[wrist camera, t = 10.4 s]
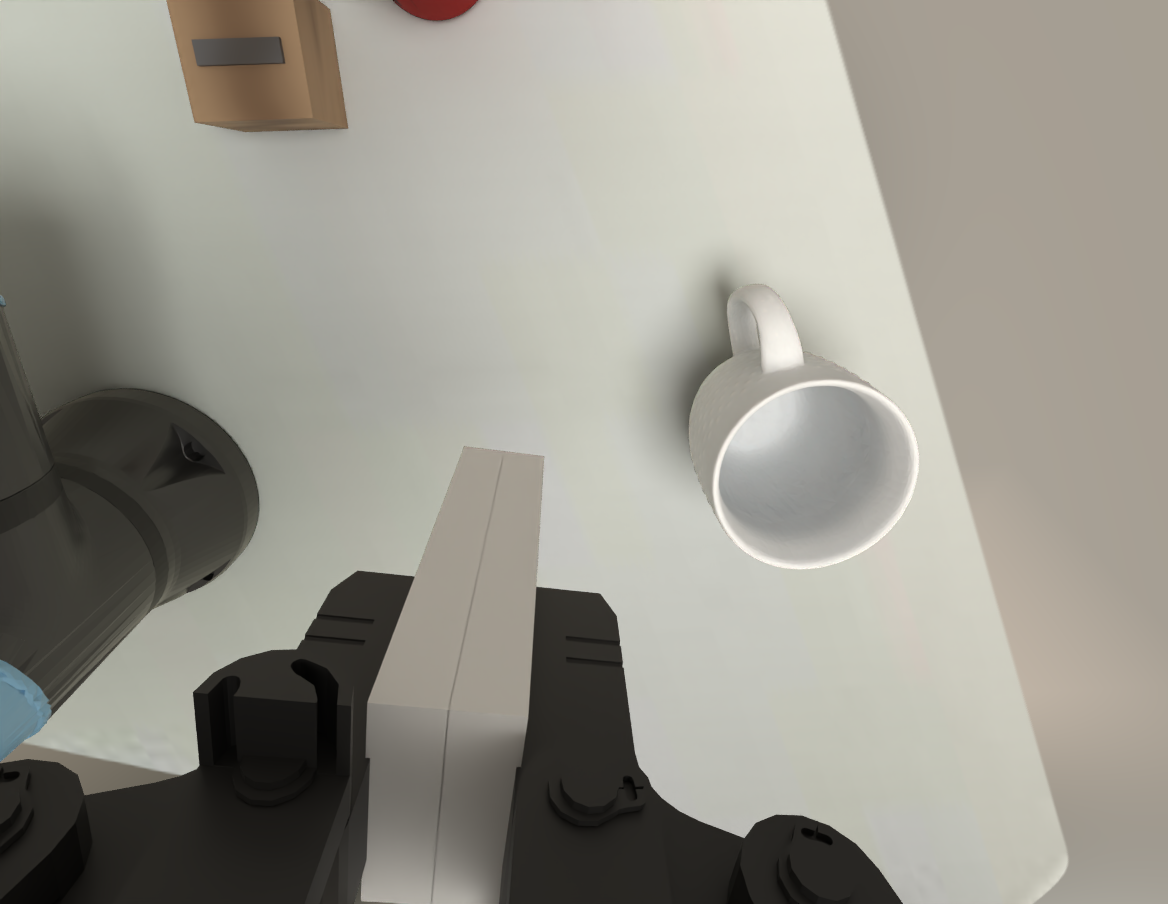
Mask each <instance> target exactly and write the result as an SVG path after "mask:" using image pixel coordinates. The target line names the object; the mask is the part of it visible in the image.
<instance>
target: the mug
mask: <svg viewBox="0 0 1168 904" xmlns="http://www.w3.org/2000/svg"><path fill="white" fill-rule="evenodd" d="M727 319H728V328H729V335H730V340H731V346H732V352H733V357H732V358H730V359H727V360H726V361H725V362H723V363H722V364H721V365H719V366H717V367H716V368H715V369H714V370H713V371H712V372H711V374H709V375H708V376H707V377H706V379H705V380H704V381H703V383H702V385H701V386H700V387H699V390H698V392H697V394H696V397H695V399H694V402H693V405H692V407H691V413H690V416H689V426H688V427H689V435H688V438H689V442H690V446H689V448H690V452H691V459H692V462H693V464H694V469H695V472H696V474H697V475H698V480H699V482H700V484H701V486H702V489H703V492H704V494H705V495H706V497H707V500H708V503H709V504H710V505H711V507H712V509H713V512H714V514H715V515H716V517H717V519H718V521H719V523H720V524H721V526H722V528H723V530H724V531H725V532H726V534H727V535H728V536H729V538H730V539H731V540H732V541H733V542H734V543H735V544H736V545H737V546H738V547H739V548H740V549H741V550H743V551H744V552H745V553H747V554H748V555H750V556H752V557H753V558H755V559H757V560H760V561H762V562H764V563H767V564H770V565H773V566H777V567H782V568H789V569H812V568H820V567H825V566H829V565H832V564H836V563H839V562H842V561H844V560H847V559H849V558H851V557H853V556H855V555H857V554H859V553H861V552H863V551H864V550H866V549H868V548H869V547H871V546H872V545H873V544H875V543H876V542H878V541H879V540H880V539H881V538H882V537H883V536H885V535H886V534H887V533H888V532H889V531H890V529H891V528H892V527H893V526H894V525H895V524H896V522H897V521H898V520H899V518H900V517H901V516H902V514H903V513H904V511H905V509H906V507H907V505H908V504H909V502H910V499H911V497H912V495H913V492H914V489H915V486H916V482H917V477H918V470H919V451H918V445H917V440H916V436H915V434H914V431H913V428H912V426H911V424H910V423H909V421H908V419H907V418H906V416H905V415H904V413H903V412H902V411H901V410H900V408H899V407H898V406H897V405H896V404H895V403H894V402H893V401H891V400H890V399H889V398H888V397H886V396H885V395H884V394H882V393H881V392H880V391H878V390H877V389H875V388H874V387H872V386H871V385H870V383H869V382H866V381H864V380H862V379H860V378H859V377H858V376H857V375H856V374H854V373H850V372H849V371H848V370H846V369H845V368H844V367H840V366H838V365H836V364H835V363H834V362H831V361H827V360H825V359H824V358H822V357H820V356H815V355H812V354H811V353H807V352H802V347H801V343H800V339H799V336H798V333H797V330H796V328H795V325H794V323H793V320H792V318H791V316H790V313H789V311H788V309H787V307H786V305H785V304H784V302H783V301H782V299H781V298H780V296H779V295H778V294H777V293H776V292H775V291H774V290H773V289H772V288H770V287H769V286H766V285H762V284H751V285H746V286H743V287H740V288H738V289H736V290H735V291H734V292H733V293H732V294H731V295H730V297H729V299H728V302H727ZM756 323H757V324H756ZM757 326H758V331H759V338H760V344H759V339H758V333H757Z"/></svg>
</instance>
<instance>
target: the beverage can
mask: <svg viewBox="0 0 1168 904" xmlns="http://www.w3.org/2000/svg"><path fill="white" fill-rule="evenodd" d="M393 1H394V2H395V3H396V4H397V5H398V6H400V7H401V8H402V9H404V10H405V11H407V12H408V13H410V14H412V15H414V16H417V17H419V18H423V19H427V20H447V19H451V18H454V17H456V16H459V15H461V14H463V13H464V12H466V11H467V10H468V9H470V8H471V7H472V6H473V5H474V4H475V3H476V2H477V1H478V0H393Z"/></svg>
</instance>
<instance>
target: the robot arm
mask: <svg viewBox="0 0 1168 904" xmlns="http://www.w3.org/2000/svg"><path fill="white" fill-rule="evenodd" d="M4 306H6V303H5V300H4V298H3V297H2V296H1V295H0V762H1V761H2V760H3V759H4V758H5V757H6V756H7V755H9V754H10V753H11V752H12V751H13V750H14V749H15V748H16V747H17V746H18V745H20V744H21V743H22V742H23V741H24V740H25V739H27V738H30V737H31V736H33V735H35V734H36V733H37V732H39V731H40V730H41V728H42V727H43V726H44V725H45V724H46V723H47V720H48V719H49V718H50V717H51V716H52V715H53V714H54V713H55V712H56V711H57V710H58V709H59V708H60V707H61V705H62V704H63V703H64V702H65V701H66V700H67V699H68V698H69V697H70V696H71V695H72V694H73V693H74V692H75V691H76V690H77V688H78V687H79V686H80V685H81V684H82V683H83V682H84V681H85V680H86V679H87V678H88V677H89V676H90V675H91V674H92V672H93V671H94V670H95V669H96V668H97V667H98V666H99V665H100V664H101V663H102V662H103V661H104V660H105V659H106V658H107V657H108V655H109V654H110V653H111V652H112V651H113V650H114V649H115V648H116V647H117V646H118V645H119V644H120V643H121V642H122V641H123V640H124V638H125V637H126V636H127V635H128V634H129V633H130V632H131V631H132V630H133V629H134V628H135V627H136V626H137V625H138V624H139V622H140V621H141V620H142V619H143V618H144V617H145V616H146V615H147V614H148V613H149V612H150V611H151V610H152V609H154V608H156V607H159V606H161V605H163V604H165V603H167V602H170V601H172V600H174V599H176V598H178V597H180V596H182V595H184V594H186V593H188V592H191V591H194V590H196V589H198V588H200V587H202V586H204V585H206V584H208V583H210V582H211V581H213V580H214V579H216V578H217V577H218V576H220V575H221V574H222V573H223V572H224V571H225V570H227V569H228V567H229V566H230V565H231V564H232V563H233V562H234V561H235V560H236V558H237V557H238V556H239V555H240V554H241V553H242V552H243V550H244V549H245V548H246V547H247V545H248V543H249V542H250V540H251V538H252V536H253V533H254V531H255V528H256V524H257V519H258V512H259V500H258V492H257V487H256V483H255V480H254V477H253V474H252V471H251V469H250V467H249V465H248V463H247V461H246V459H245V457H244V456H243V454H242V452H241V451H240V450H239V448H238V447H237V445H236V444H235V443H234V442H233V440H232V439H231V438H230V437H229V436H228V435H227V434H226V433H225V432H224V431H223V430H222V429H221V428H220V427H219V426H218V425H217V424H215V423H214V422H213V421H212V420H210V419H209V418H208V417H207V416H205V415H204V414H202V413H201V412H199V411H197V410H196V409H194V408H192V407H191V406H189V405H187V404H185V403H183V402H180V401H178V400H176V399H173V398H170V397H168V396H165V395H161V394H158V393H154V392H149V391H144V390H136V389H111V390H104V391H99V392H95V393H92V394H88V395H86V396H83V397H81V398H78V399H76V400H74V401H71V402H69V403H67V404H65V405H62V406H60V407H58V408H56V409H55V410H53V411H51V412H50V413H48V414H47V415H45V416H44V417H43V418H41V419H40V417H39V414H38V411H37V408H36V405H35V402H34V399H33V396H32V393H31V390H30V387H29V384H28V382H27V379H26V376H25V373H24V370H23V367H22V364H21V361H20V358H19V355H18V352H17V349H16V346H15V343H14V340H13V337H12V334H11V331H10V328H9V325H8V322H7V319H6V316H5V313H4V310H3V307H4ZM543 468H544V456H538V455H530V454H522V453H514V452H506V451H497V450H489V449H481V448H473V447H465V446H464V448H463V451H462V453H461V456H460V459H459V461H458V464H457V467H456V469H455V472H454V475H453V477H452V480H451V482H450V485H449V488H448V490H447V493H446V496H445V498H444V501H443V504H442V506H441V509H440V512H439V514H438V517H437V519H436V522H435V525H434V527H433V530H432V533H431V535H430V538H429V541H428V543H427V546H426V549H425V551H424V554H423V557H422V559H421V562H420V564H419V567H418V570H417V572H416V575H415V577H413V576H404V575H394V574H384V573H375V572H365V571H357V572H355V573H354V574H352V575H351V576H350V577H348V578H347V579H345V580H344V581H343V582H341V583H340V584H338V585H337V586H336V587H334V588H333V589H331V591H330V593H329V594H328V596H327V598H326V600H325V601H324V603H323V605H322V606H321V608H320V610H319V612H318V613H317V618H316V619H314V620H313V622H312V624H311V626H310V627H309V629H308V631H307V632H306V634H305V639H304V640H302V641H301V643H300V645H299V646H298V648H297V649H296V650H271V651H267V652H263V653H259V654H255V655H252V656H248V657H244V658H241V659H239V660H237V661H235V662H233V663H231V664H229V665H227V666H225V667H224V668H222V669H220V670H218V671H216V672H214V673H213V674H212V675H211V676H210V677H209V678H208V679H207V680H206V681H204V682H203V683H202V684H201V685H200V686H199V687H198V688H197V689H196V690H195V691H194V692H193V698H194V709H195V720H196V731H197V742H198V753H199V764H200V765H199V767H198V768H197V769H196V770H194V771H191V772H189V773H187V774H184V775H182V776H179V777H175V778H171V779H167V780H164V781H160V782H156V783H151V784H146V785H140V786H134V787H129V788H123V789H118V790H112V791H107V792H101V793H96V794H90V795H84V793H83V790H82V787H81V784H80V781H79V777H78V775H77V774H75V773H74V772H72V771H71V770H69V769H67V768H66V767H64V766H63V765H61V764H60V763H57V762H48V761H40V760H31V759H26V760H19V761H13V762H7V763H0V904H354V902H355V898H356V895H357V891H358V888H359V884H360V881H361V878H362V888H361V901H371V902H387V903H402V904H903V903H902V902H901V900H900V899H899V897H898V896H897V895H896V893H895V892H894V890H893V889H892V887H891V886H890V885H889V883H888V882H887V880H886V879H885V877H884V876H883V875H882V873H881V872H880V870H879V869H878V868H877V867H876V866H875V864H874V863H873V862H872V861H871V860H870V859H869V858H868V857H867V856H866V854H865V853H864V852H863V851H862V850H861V849H860V848H859V847H858V846H857V844H855V843H854V842H852V841H851V840H849V839H848V838H846V837H845V836H844V835H842V834H841V833H839V832H838V831H836V830H835V829H833V828H832V827H831V826H829V825H826V824H823V823H820V822H818V821H815V820H812V819H810V818H807V817H804V816H797V815H774V816H772V817H769V818H767V819H764V820H762V821H760V822H757V823H755V825H754V826H753V827H752V829H751V830H750V832H749V833H748V834H747V836H746V837H745V838H742V837H740V836H737V835H734V834H732V833H729V832H726V831H724V830H721V829H719V828H716V827H713V826H711V825H708V824H705V823H703V822H700V821H698V820H696V819H694V818H692V817H690V816H688V815H686V814H684V813H682V812H680V811H678V810H677V809H675V808H674V807H673V806H671V805H670V804H669V803H667V802H666V801H665V800H663V799H662V798H661V797H660V796H659V795H658V794H657V793H656V791H655V790H654V789H653V788H652V787H651V784H650V782H649V779H648V777H647V776H646V775H645V774H644V772H643V771H642V770H641V769H640V768H639V766H638V762H637V758H636V755H635V751H634V743H633V736H632V728H631V721H630V713H629V705H628V698H627V690H626V683H625V675H624V668H622V664H623V660H622V653H621V646H620V638H619V630H618V623H617V616H616V615H615V613H614V612H613V611H612V609H611V608H610V606H609V605H608V604H607V602H606V601H605V600H604V598H603V597H602V596H601V594H599V593H589V592H580V591H570V590H561V589H551V588H542V587H536V582H537V566H538V549H539V533H540V517H541V500H542V484H543Z"/></svg>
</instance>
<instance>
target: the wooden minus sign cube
mask: <svg viewBox="0 0 1168 904" xmlns="http://www.w3.org/2000/svg"><path fill="white" fill-rule="evenodd" d="M167 5H168V9H169V13H170V18H171V22H172V27H173V31H174V35H175V40H176V44H177V48H178V53H179V57H180V61H181V66H182V70H183V74H184V79H185V83H186V87H187V92H188V96H189V100H190V105H191V109H192V113H193V118H194V122H195V123H201V124H206V125H211V126H217V127H222V128H227V129H233V130H238V131H243V132H262V131H289V130H317V129H344V128H348V124H347V118H346V111H345V105H344V98H343V92H342V85H341V78H340V72H339V65H338V59H337V52H336V46H335V39H334V33H333V26H332V19H331V13H330V9H329V8H327V7H326V6H325V5H324V4H322V3H321V2H320V1H319V0H167Z"/></svg>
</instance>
